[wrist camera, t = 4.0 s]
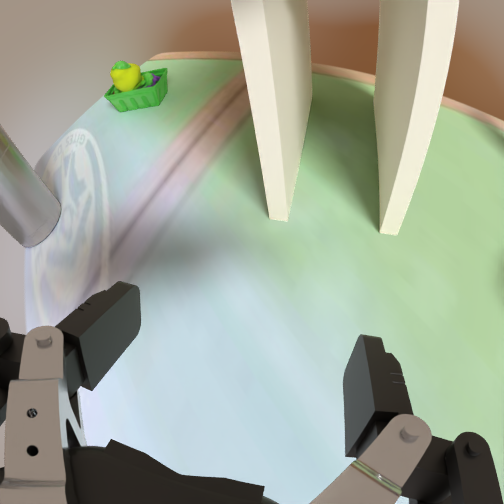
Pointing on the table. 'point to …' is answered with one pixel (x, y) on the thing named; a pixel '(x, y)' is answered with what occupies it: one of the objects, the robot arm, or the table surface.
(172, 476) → the robot arm
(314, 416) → the table surface
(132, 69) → the fruit basket
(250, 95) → the stand
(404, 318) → the table surface
